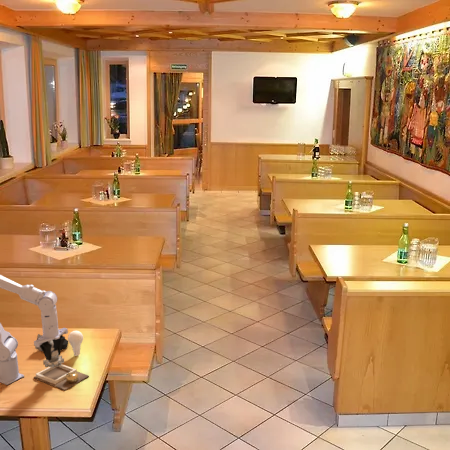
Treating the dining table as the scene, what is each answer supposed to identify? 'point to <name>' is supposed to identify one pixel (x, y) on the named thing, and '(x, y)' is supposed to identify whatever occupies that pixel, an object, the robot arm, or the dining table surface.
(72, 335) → the lightbulb
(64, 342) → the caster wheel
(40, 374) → the carrier pocket
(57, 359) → the planet gear
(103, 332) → the dining table surface
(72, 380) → the golden brown dome
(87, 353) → the dining table surface
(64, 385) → the carrier board
